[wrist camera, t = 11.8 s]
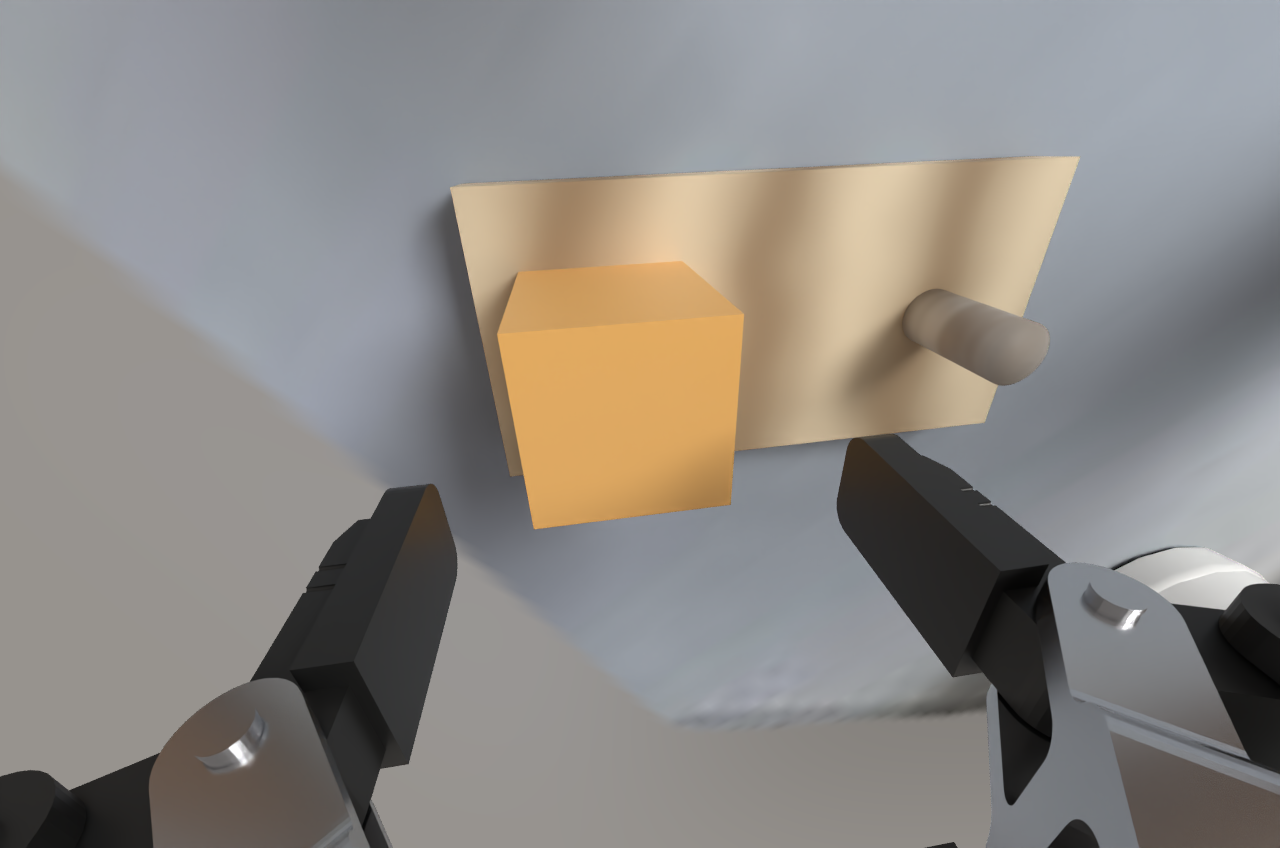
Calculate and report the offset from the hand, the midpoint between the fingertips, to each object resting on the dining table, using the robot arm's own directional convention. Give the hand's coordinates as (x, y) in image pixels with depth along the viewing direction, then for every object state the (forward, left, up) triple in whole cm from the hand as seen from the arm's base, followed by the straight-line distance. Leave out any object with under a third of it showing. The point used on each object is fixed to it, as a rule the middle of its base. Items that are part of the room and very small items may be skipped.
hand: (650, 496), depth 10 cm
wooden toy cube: (0, 0, -8) cm, 8 cm away
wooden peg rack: (-6, 0, -10) cm, 12 cm away
